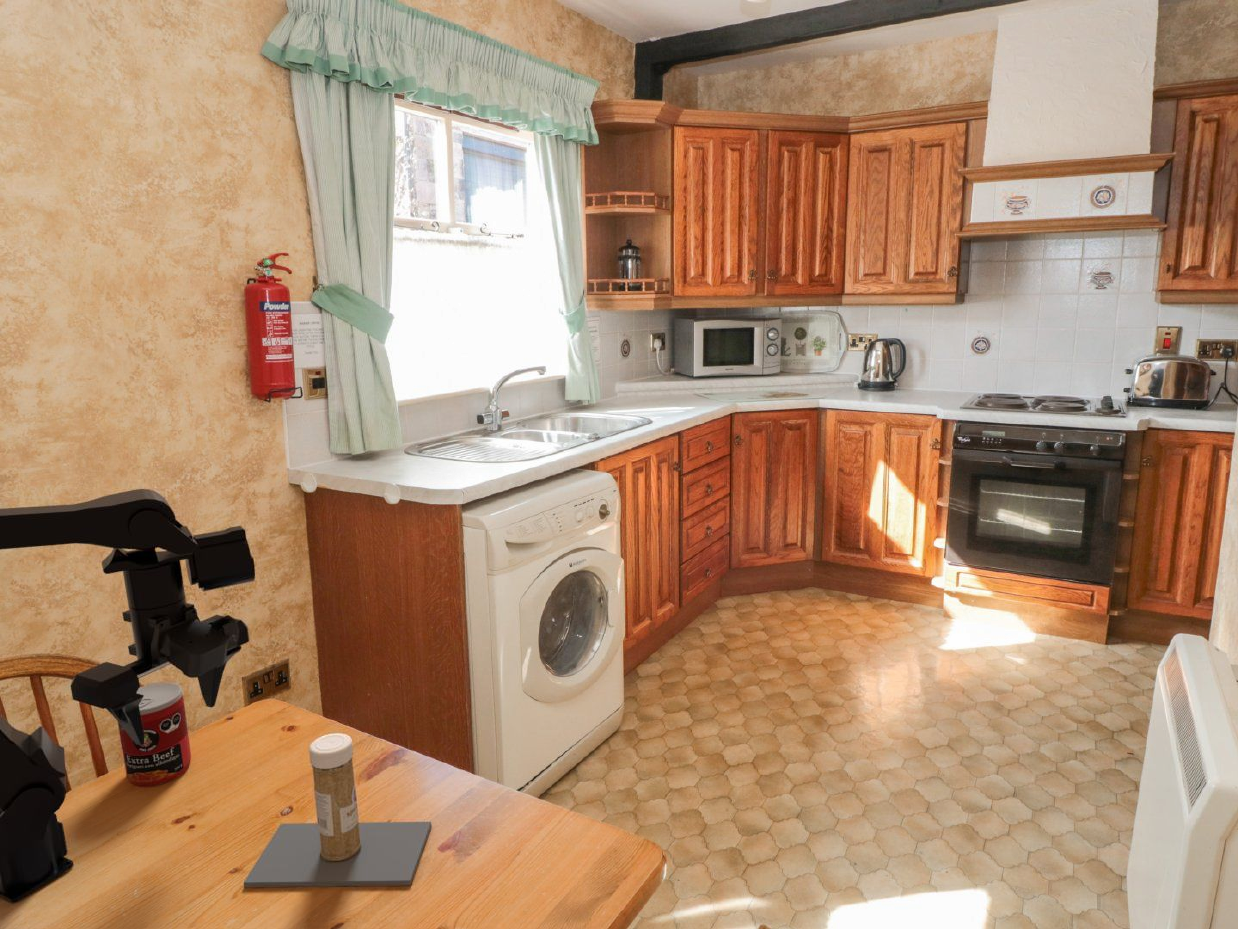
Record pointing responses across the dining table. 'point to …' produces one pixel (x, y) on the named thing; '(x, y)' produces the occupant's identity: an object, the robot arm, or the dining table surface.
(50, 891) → the dining table surface
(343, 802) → the spice jar
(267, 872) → the charcoal mat
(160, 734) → the canned food
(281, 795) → the dining table surface
